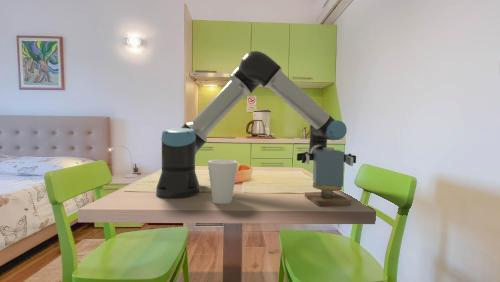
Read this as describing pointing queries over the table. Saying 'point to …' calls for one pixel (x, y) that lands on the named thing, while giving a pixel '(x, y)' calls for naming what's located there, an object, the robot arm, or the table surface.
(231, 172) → the foam cup
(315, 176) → the sleeve
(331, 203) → the post stand
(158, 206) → the table surface
